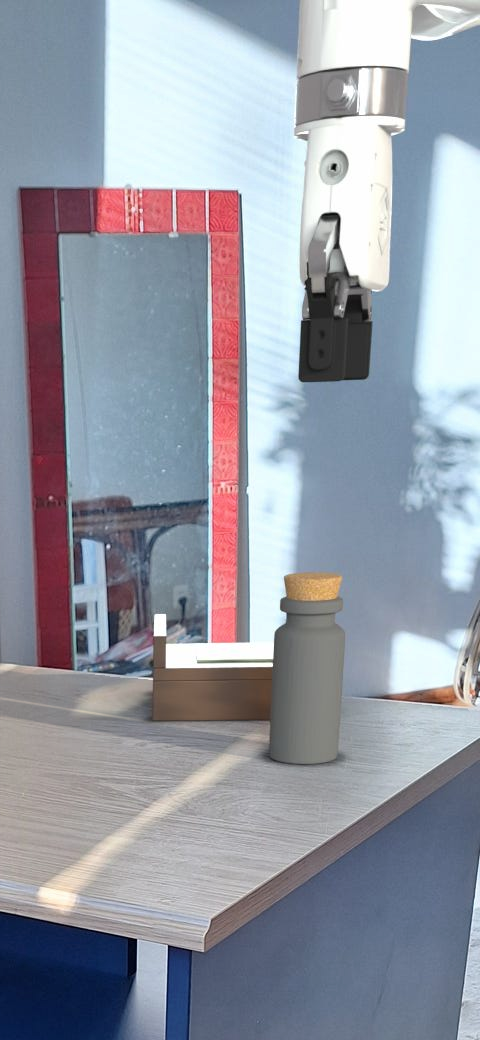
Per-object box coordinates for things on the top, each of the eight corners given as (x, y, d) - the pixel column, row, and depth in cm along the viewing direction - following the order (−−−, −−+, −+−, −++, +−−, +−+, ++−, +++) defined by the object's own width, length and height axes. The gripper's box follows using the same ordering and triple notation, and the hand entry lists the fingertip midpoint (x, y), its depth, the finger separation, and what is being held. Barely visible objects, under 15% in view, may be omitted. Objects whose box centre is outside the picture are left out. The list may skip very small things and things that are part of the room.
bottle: (351, 759, 125) (363, 576, 119) (291, 767, 123) (301, 581, 117) (313, 746, 130) (323, 569, 124) (255, 753, 128) (263, 574, 122)
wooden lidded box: (308, 690, 152) (312, 611, 149) (321, 719, 140) (326, 633, 136) (153, 692, 154) (154, 614, 151) (152, 721, 141) (153, 636, 138)
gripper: (384, 84, 93) (365, 380, 100) (423, 121, 107) (404, 378, 114) (267, 96, 95) (256, 384, 102) (321, 131, 110) (308, 381, 117)
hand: (334, 380), depth 108 cm, fingers open, 9 cm apart
